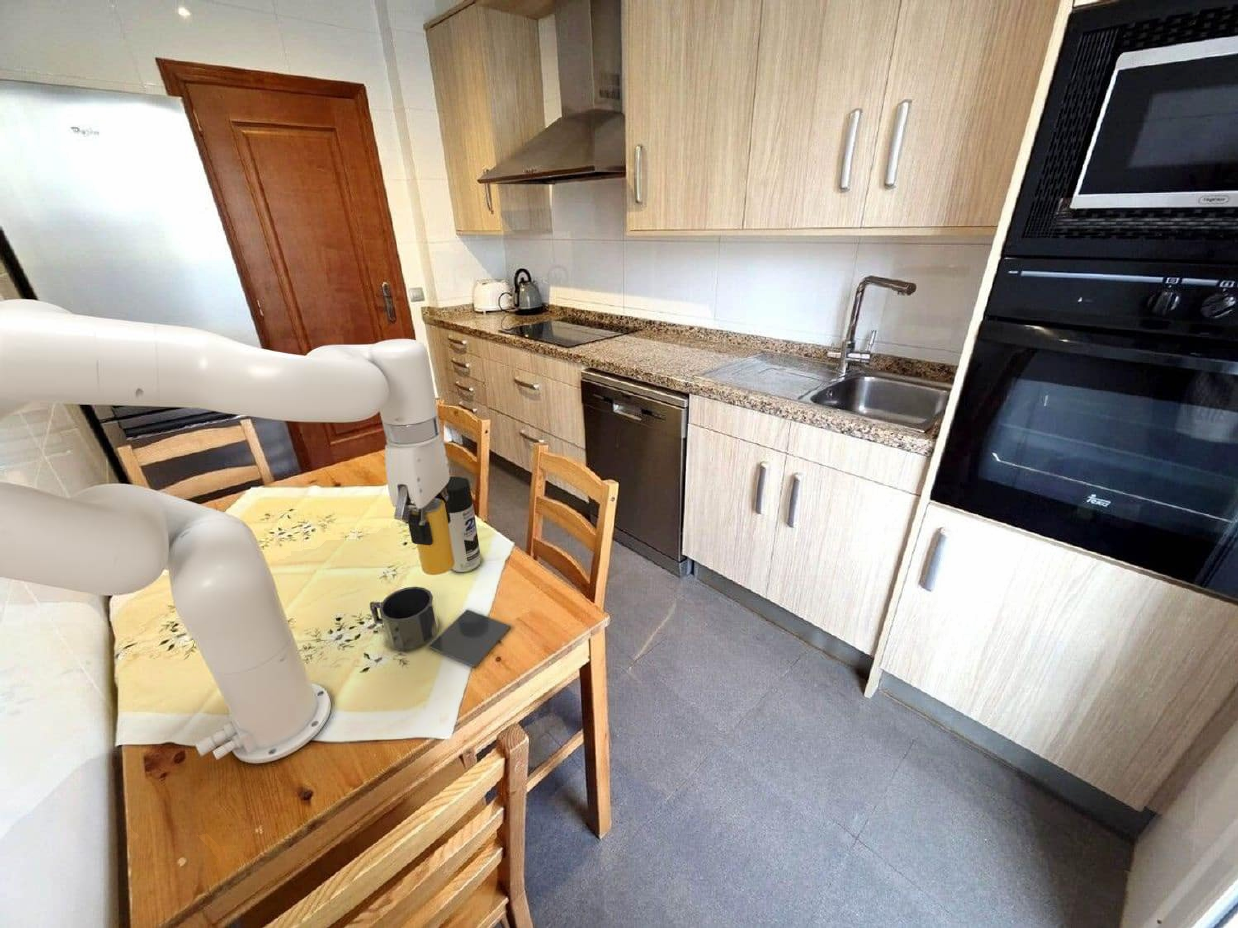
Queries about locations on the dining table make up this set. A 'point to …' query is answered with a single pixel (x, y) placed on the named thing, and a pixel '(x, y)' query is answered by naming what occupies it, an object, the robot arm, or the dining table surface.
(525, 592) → the dining table surface
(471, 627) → the coaster
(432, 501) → the can
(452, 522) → the spray can
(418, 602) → the mug
